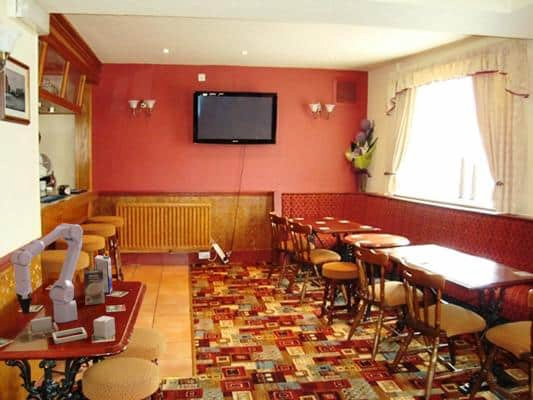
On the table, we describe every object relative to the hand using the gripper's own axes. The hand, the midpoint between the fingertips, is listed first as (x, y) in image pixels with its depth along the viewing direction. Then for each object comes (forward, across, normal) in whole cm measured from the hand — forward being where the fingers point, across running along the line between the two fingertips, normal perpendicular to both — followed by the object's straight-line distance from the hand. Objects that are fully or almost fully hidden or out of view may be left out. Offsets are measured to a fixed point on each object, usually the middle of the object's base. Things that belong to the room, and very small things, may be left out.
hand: (25, 311), depth 211 cm
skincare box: (+10, +19, +28) cm, 35 cm away
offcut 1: (+9, +9, +3) cm, 14 cm away
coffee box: (+11, -30, +33) cm, 46 cm away
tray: (+10, +15, +15) cm, 23 cm away
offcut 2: (+9, +9, +8) cm, 15 cm away
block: (+9, +4, +6) cm, 11 cm away
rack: (+10, +6, +6) cm, 13 cm away
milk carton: (+11, -45, +41) cm, 61 cm away
